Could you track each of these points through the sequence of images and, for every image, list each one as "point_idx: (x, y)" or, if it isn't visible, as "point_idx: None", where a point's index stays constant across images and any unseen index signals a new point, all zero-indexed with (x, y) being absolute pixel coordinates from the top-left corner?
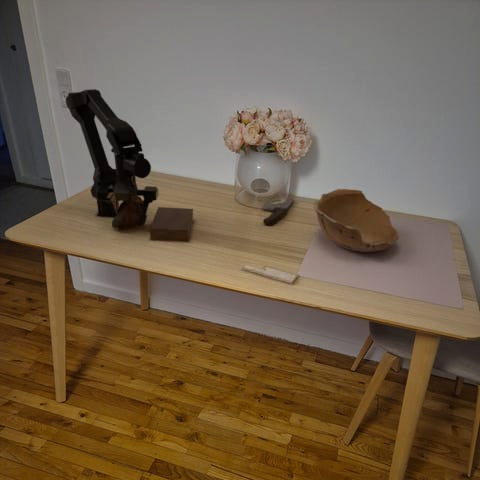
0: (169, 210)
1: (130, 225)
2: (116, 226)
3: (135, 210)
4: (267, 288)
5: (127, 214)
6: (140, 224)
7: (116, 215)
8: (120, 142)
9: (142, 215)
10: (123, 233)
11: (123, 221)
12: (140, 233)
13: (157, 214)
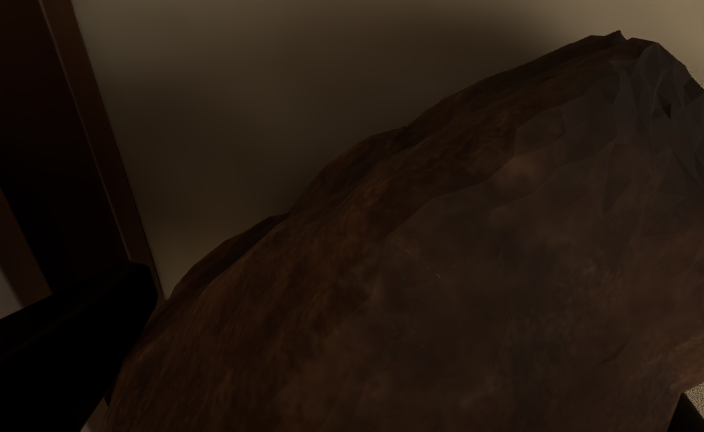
0: None
1: (371, 156)
2: (684, 75)
3: (142, 413)
4: None
5: (302, 291)
6: (263, 230)
7: (663, 411)
8: None
9: (151, 331)
10: (524, 4)
11: (468, 123)
12: (238, 19)
13: None
